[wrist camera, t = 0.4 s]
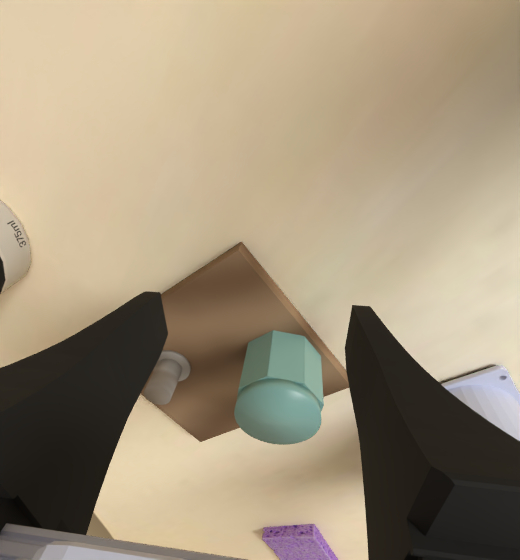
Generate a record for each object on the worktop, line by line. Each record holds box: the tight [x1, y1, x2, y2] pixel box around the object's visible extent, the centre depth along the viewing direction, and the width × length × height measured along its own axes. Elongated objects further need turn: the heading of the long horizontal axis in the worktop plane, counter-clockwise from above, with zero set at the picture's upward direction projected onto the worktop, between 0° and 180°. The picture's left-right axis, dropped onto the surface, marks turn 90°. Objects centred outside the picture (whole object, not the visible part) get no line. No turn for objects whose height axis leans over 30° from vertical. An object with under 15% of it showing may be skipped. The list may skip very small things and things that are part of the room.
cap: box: [234, 330, 324, 444], centre depth 23 cm, size 5×5×5 cm
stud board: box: [141, 242, 349, 442], centre depth 25 cm, size 14×16×4 cm
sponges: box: [262, 524, 338, 560], centre depth 44 cm, size 7×13×2 cm, turn 23°
